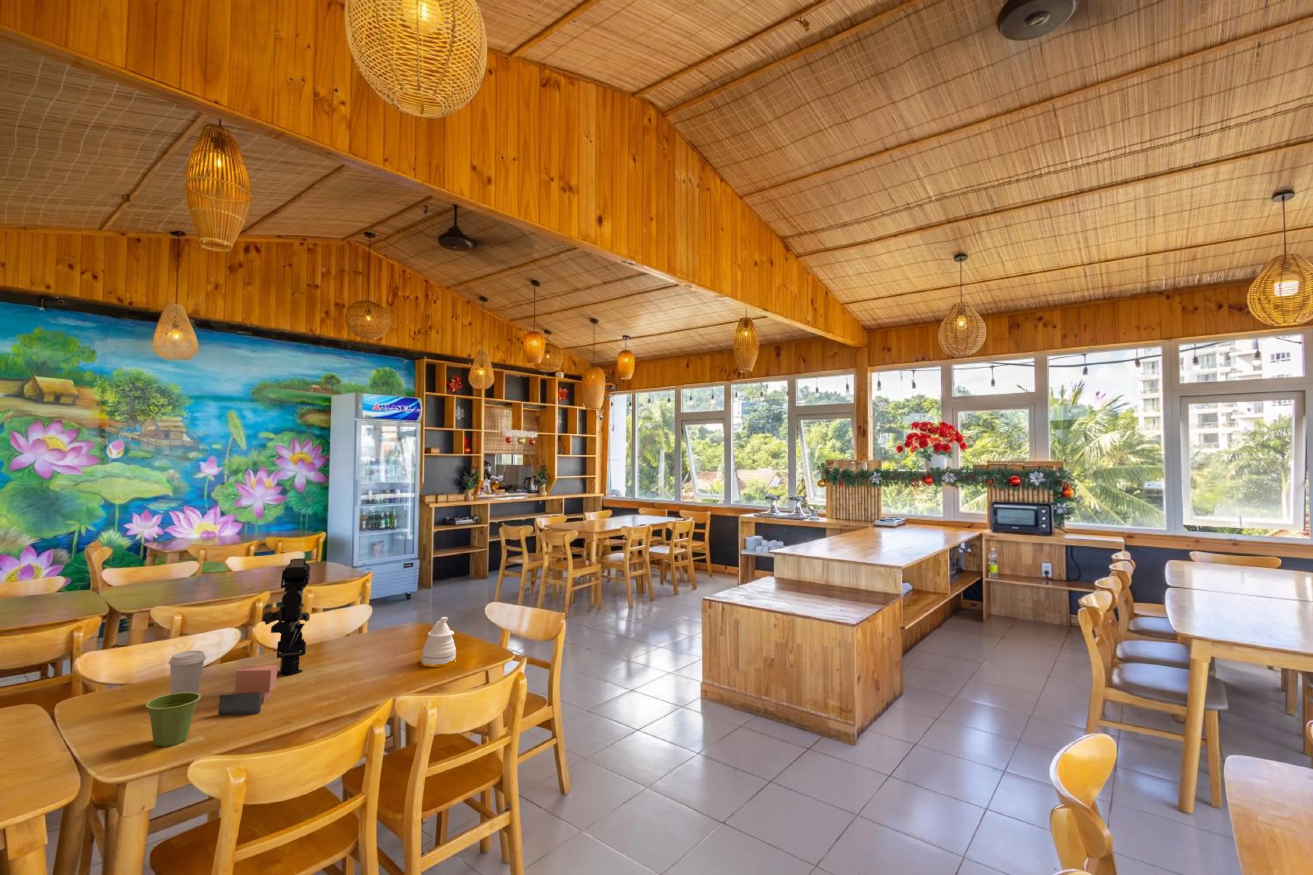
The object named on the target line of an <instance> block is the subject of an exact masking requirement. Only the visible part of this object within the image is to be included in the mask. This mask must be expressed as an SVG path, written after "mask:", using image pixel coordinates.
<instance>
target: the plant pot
mask: <svg viewBox="0 0 1313 875" xmlns="http://www.w3.org/2000/svg"><path fill="white" fill-rule="evenodd" d="M200 699H201V694H200V693H199V692H198V693H194V692H181V693H173V694H171V693H170V694H164V695H161V696H158V697H155V698H153V699H150V700H149V701H147V702H146V703H145V707H146V708H147V711H148V714H149V717H150V718H149V719H150V725H151V733H152V734H151V735H152V741H153V742H152V743H153V745H154V746H155V747H160V746H161V747H165V748H166V747H171V746H175V745H179V744H181V743H182V742H183V741H186V740H187V738H188V736H189V731H190V729H191V724H192V721H193V716H194V714H195V710H196V708H197V705H198V701H199V700H200Z"/></svg>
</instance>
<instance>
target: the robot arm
mask: <svg viewBox="0 0 1313 875" xmlns="http://www.w3.org/2000/svg"><path fill="white" fill-rule="evenodd" d="M289 561H290V562H289V564H288V565H286V566H285V567H284V569H282V571H281V572H282V574H281V579H280V580H281V582H280V589H284V590H283V595H282V598H281V604H282V605H281V606H280V607H279V609H278V610H274V611H272V610H270V611H268V612H267V611H266V612H265V613H264V614H263V616H262V619H261V620H262V622H264V623H265V625H269V624H272V623H274V622H276V621H277V622H276V623H274V624H273V625H272V626H270V633H271V634H280V639H279V641H277V645H276V646H277V647H276V648H277V649H276V659H280V662H279V663H280V664H279V667H280V668H279V670H277V675H281V676H284V677H287V676H290V675H294V674H299V673H301V672H303V669H300V657H302V656H304V655H306V652H307V651H306V648H307V647H306V646H307V642H306V641H305V638H303V633H302V632H303V631H302V630H303V628H304V626H305V625H306V624H305V623H302V622H301V621H304V622H308V621H310V617H311V616H310V614H309V613H308V612H302V608H304V606H305V604H304V603H303V593H304V592H303V591H304V590H305V589H306V588H307V586H308V584H309V581H310V577H311V576H310V575H311V566H310V565H309V564H308V563H307V562H306V558H301V557H300V558H292V559H290V560H289Z"/></svg>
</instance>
